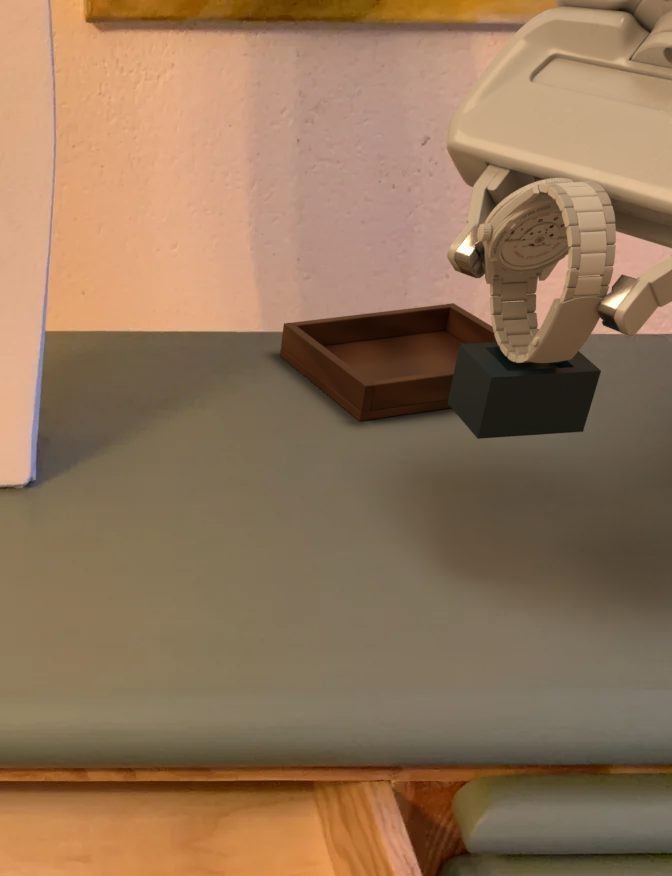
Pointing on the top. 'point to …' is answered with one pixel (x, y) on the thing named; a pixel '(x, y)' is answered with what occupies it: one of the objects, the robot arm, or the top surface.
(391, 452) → the top surface
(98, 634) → the top surface
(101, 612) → the top surface
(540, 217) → the watch
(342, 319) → the tray
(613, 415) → the top surface
